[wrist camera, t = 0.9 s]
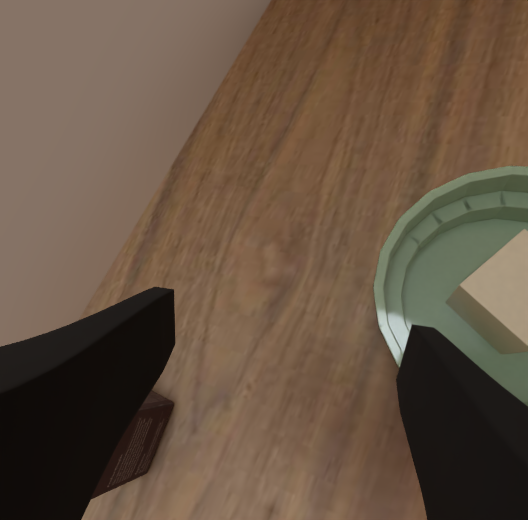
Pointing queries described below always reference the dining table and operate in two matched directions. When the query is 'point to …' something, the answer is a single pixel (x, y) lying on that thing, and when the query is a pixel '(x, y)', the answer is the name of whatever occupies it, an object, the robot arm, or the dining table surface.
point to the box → (136, 444)
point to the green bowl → (451, 265)
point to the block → (498, 297)
